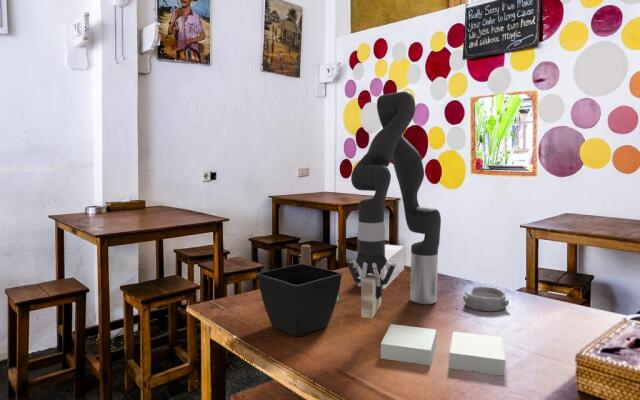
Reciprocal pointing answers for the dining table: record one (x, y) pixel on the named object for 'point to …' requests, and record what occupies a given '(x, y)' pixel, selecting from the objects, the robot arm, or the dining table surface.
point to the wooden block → (307, 257)
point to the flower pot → (299, 297)
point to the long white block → (393, 256)
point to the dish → (486, 299)
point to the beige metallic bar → (369, 296)
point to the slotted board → (464, 350)
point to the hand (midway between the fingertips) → (371, 297)
